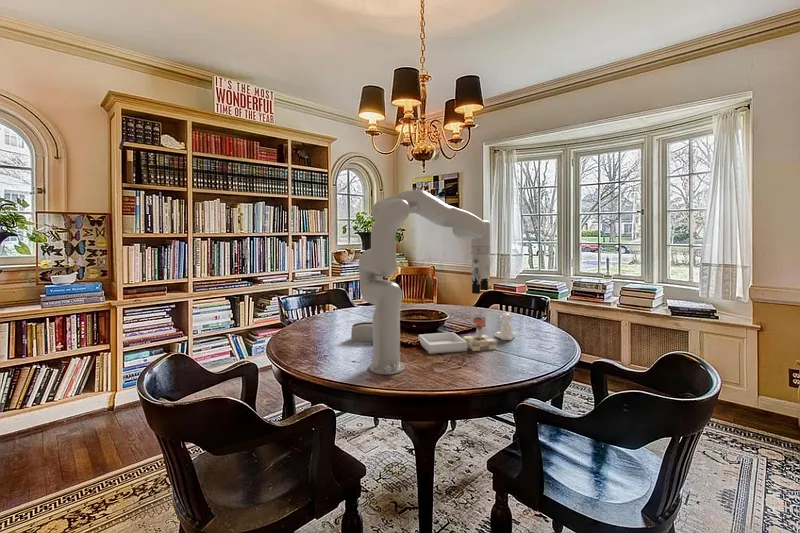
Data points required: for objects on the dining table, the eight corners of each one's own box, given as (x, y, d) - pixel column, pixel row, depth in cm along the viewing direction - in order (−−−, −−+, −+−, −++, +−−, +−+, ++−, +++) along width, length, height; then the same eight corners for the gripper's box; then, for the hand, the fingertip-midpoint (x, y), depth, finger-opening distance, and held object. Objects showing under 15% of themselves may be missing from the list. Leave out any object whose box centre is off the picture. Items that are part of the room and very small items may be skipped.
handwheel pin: (487, 347, 165) (487, 318, 164) (476, 348, 164) (476, 319, 163) (481, 344, 170) (482, 316, 169) (471, 345, 169) (471, 316, 168)
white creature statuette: (515, 336, 182) (515, 310, 181) (519, 341, 174) (519, 314, 173) (494, 335, 183) (494, 310, 182) (496, 341, 175) (497, 314, 174)
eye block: (495, 349, 163) (495, 340, 163) (472, 351, 161) (473, 342, 161) (484, 342, 173) (484, 334, 173) (463, 344, 171) (463, 336, 170)
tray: (467, 350, 161) (467, 342, 161) (429, 353, 158) (429, 345, 157) (452, 340, 177) (453, 332, 177) (418, 342, 173) (418, 334, 173)
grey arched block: (389, 338, 180) (388, 319, 176) (388, 344, 176) (387, 325, 172) (352, 337, 182) (350, 319, 177) (350, 344, 177) (348, 325, 173)
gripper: (482, 252, 154) (481, 295, 156) (496, 249, 168) (495, 289, 170) (463, 251, 158) (463, 294, 159) (479, 249, 172) (478, 288, 174)
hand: (480, 291), depth 165 cm, fingers open, 9 cm apart
